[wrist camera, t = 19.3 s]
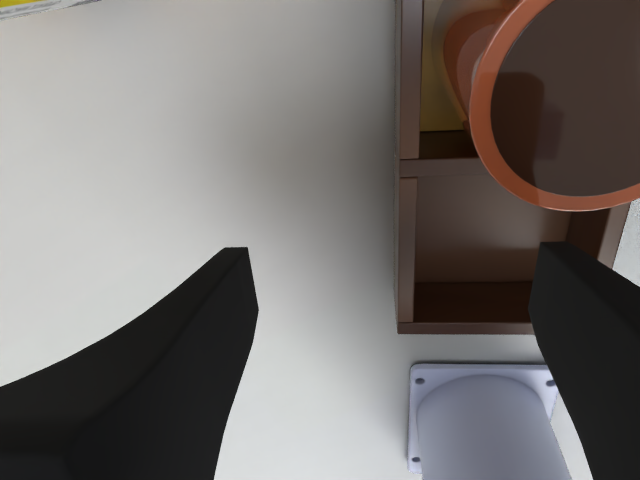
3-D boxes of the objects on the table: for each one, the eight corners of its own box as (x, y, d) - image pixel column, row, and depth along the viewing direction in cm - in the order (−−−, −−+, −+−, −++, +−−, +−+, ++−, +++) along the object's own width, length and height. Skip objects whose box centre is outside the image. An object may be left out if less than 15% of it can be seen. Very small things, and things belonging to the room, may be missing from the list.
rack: (565, 286, 24) (593, 335, 21) (393, 287, 25) (397, 334, 22) (658, -115, 15) (728, -130, 12) (395, -91, 16) (401, -99, 13)
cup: (581, 113, 19) (704, 210, 12) (427, 120, 19) (460, 216, 12) (617, -65, 16) (811, -72, 9) (434, -50, 16) (483, -46, 9)
